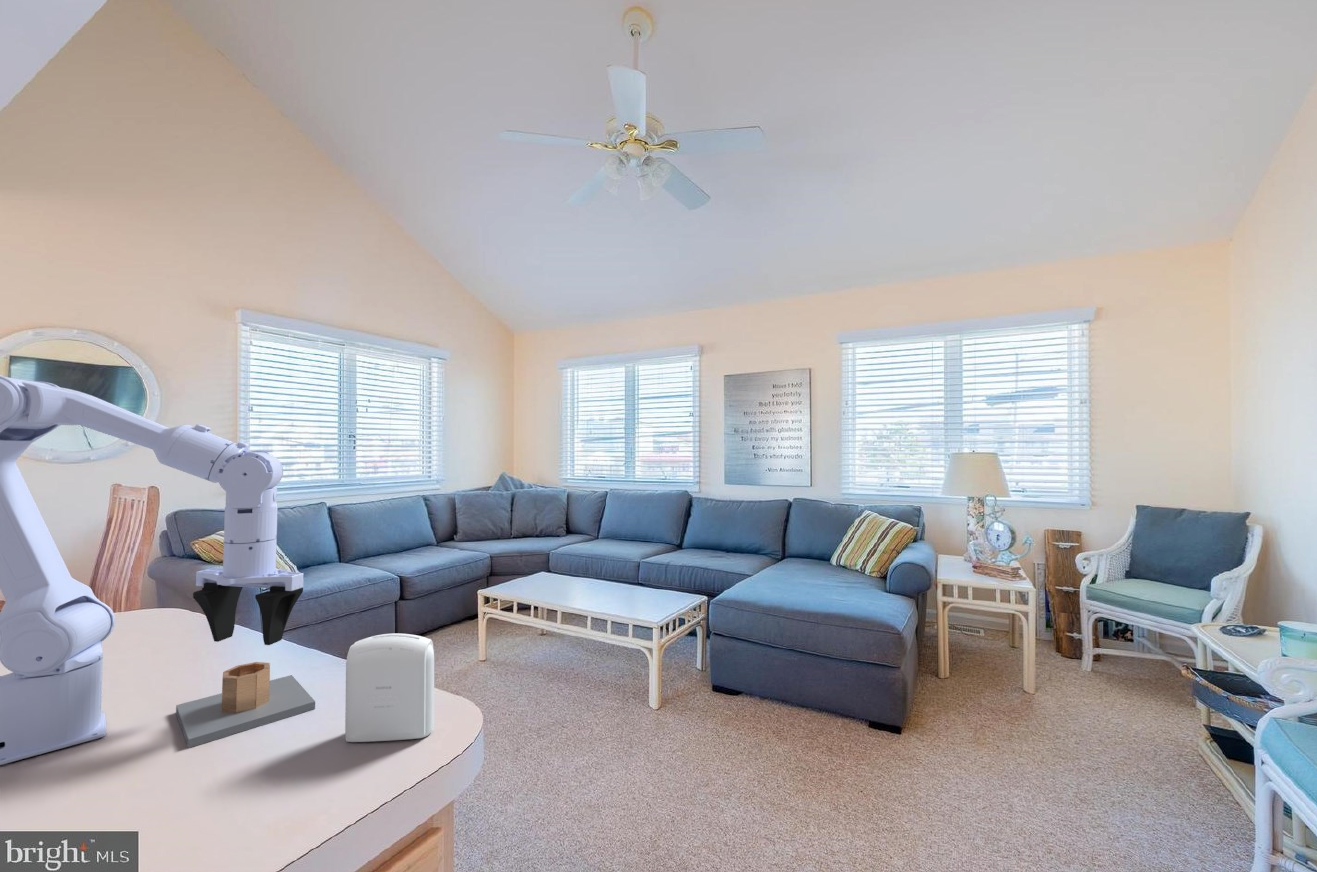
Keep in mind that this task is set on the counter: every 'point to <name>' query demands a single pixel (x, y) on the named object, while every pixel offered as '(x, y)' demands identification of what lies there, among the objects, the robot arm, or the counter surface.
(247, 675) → the octagonal cardboard bin
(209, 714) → the plate
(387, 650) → the photo printer
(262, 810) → the counter surface
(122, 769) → the counter surface
